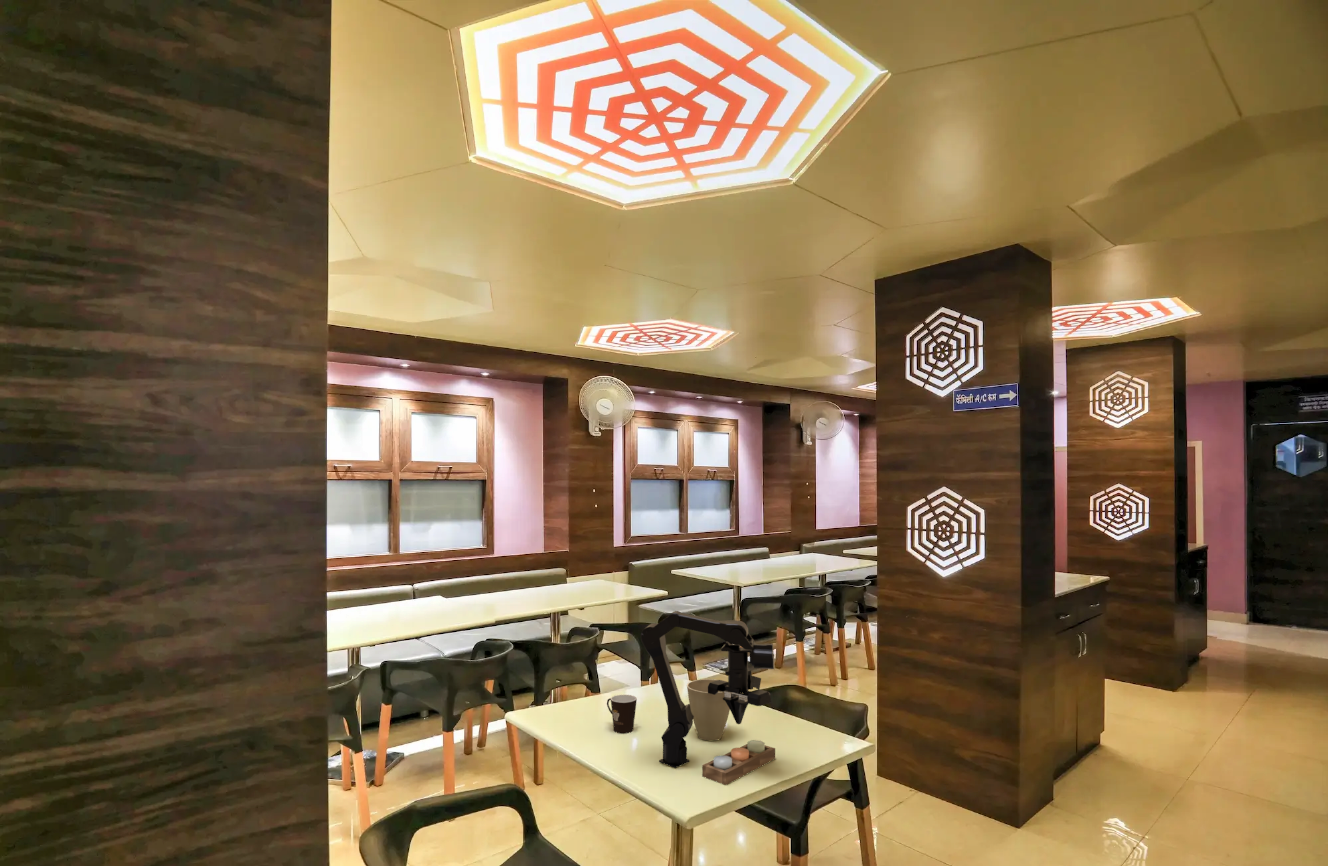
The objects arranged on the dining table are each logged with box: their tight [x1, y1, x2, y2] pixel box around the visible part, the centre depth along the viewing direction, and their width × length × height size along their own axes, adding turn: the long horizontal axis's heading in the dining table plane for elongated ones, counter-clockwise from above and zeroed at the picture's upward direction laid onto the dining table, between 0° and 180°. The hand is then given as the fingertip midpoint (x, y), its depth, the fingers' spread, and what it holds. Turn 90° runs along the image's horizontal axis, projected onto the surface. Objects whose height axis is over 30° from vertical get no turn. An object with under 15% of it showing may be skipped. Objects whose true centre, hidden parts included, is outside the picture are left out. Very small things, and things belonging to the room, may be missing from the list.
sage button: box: [746, 739, 765, 754], centre depth 191 cm, size 5×5×3 cm
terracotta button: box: [730, 747, 749, 762], centre depth 185 cm, size 5×5×3 cm
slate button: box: [713, 754, 732, 771], centre depth 179 cm, size 5×5×3 cm
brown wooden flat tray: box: [701, 743, 776, 786], centre depth 185 cm, size 8×24×3 cm, turn 138°
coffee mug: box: [606, 694, 638, 735], centre depth 216 cm, size 12×9×10 cm
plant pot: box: [686, 678, 731, 741], centre depth 209 cm, size 15×15×16 cm
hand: (738, 723), depth 185 cm, fingers closed
